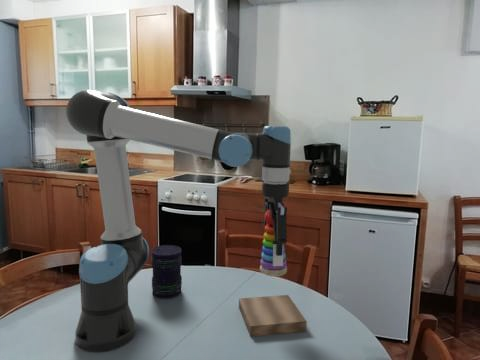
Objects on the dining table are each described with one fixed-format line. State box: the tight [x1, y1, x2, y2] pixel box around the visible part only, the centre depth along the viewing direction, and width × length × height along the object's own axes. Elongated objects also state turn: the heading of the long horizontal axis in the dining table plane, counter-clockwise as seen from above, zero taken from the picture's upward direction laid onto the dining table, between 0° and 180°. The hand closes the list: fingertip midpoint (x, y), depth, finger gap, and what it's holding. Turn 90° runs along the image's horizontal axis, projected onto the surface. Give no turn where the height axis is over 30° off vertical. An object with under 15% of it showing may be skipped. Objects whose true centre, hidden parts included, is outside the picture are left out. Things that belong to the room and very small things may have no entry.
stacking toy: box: [259, 209, 288, 277], centre depth 105 cm, size 8×8×19 cm
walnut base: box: [238, 294, 308, 337], centre depth 108 cm, size 16×16×3 cm
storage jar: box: [151, 244, 183, 300], centre depth 123 cm, size 10×10×15 cm
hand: (273, 260), depth 106 cm, fingers closed on stacking toy, 7 cm apart
